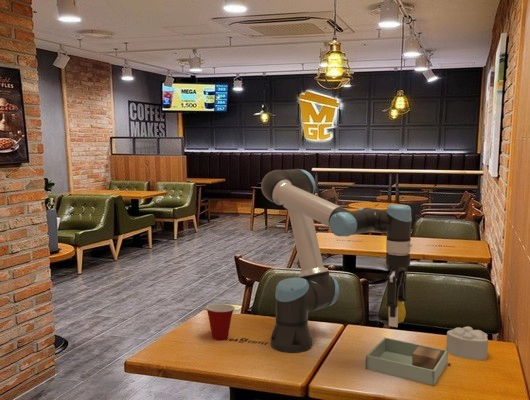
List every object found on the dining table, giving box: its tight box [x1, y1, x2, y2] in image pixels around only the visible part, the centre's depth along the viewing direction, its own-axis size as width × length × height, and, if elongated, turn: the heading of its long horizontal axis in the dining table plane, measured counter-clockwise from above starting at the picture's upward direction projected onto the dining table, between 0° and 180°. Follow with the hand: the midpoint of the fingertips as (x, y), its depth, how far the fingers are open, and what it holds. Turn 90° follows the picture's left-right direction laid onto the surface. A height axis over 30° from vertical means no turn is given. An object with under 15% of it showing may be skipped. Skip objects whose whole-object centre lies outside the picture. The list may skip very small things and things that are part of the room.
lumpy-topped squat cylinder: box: [445, 326, 489, 361], centre depth 171 cm, size 10×13×9 cm
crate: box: [365, 337, 449, 386], centre depth 160 cm, size 21×18×5 cm
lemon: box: [387, 301, 407, 324], centre depth 160 cm, size 6×6×8 cm
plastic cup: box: [205, 303, 235, 341], centre depth 186 cm, size 11×11×12 cm
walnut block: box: [412, 346, 441, 370], centre depth 157 cm, size 7×7×6 cm
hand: (396, 323), depth 161 cm, fingers closed on lemon, 5 cm apart
